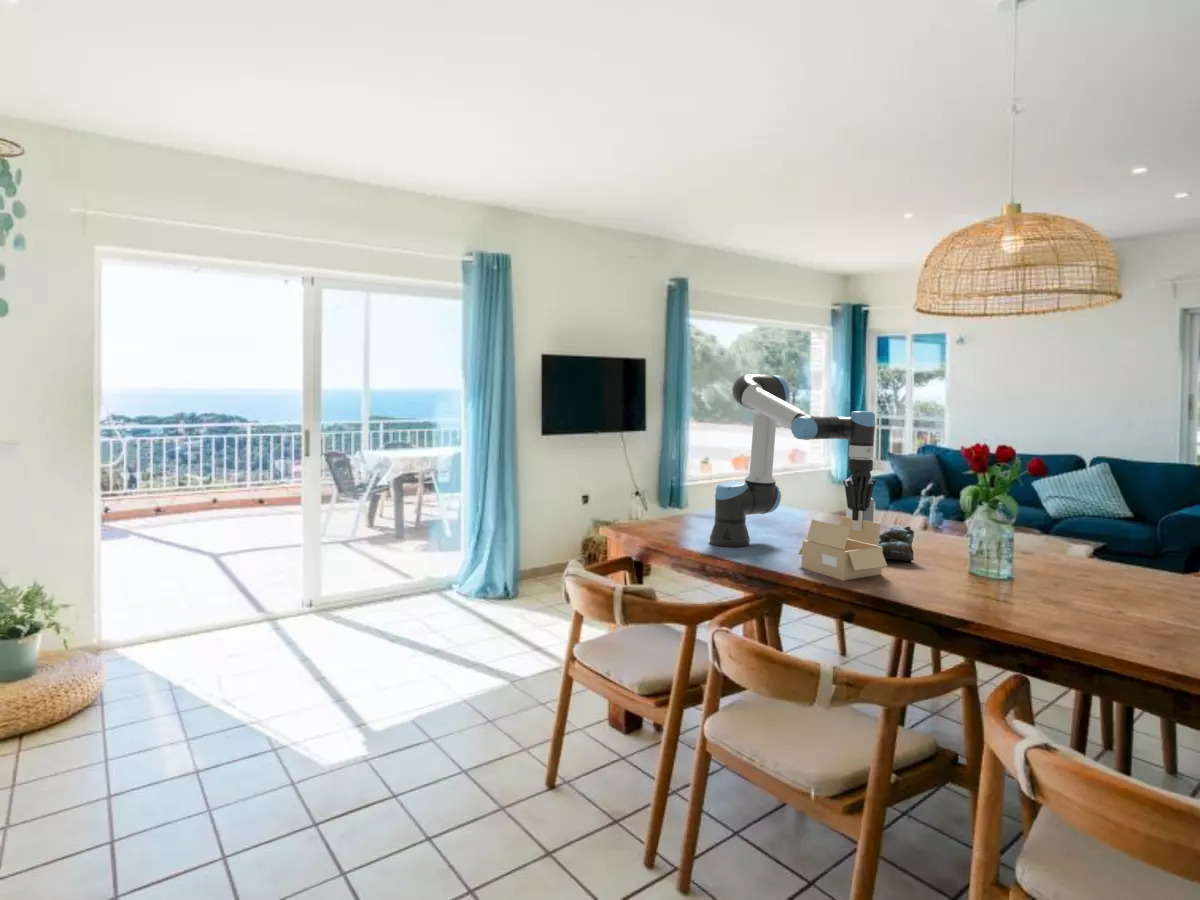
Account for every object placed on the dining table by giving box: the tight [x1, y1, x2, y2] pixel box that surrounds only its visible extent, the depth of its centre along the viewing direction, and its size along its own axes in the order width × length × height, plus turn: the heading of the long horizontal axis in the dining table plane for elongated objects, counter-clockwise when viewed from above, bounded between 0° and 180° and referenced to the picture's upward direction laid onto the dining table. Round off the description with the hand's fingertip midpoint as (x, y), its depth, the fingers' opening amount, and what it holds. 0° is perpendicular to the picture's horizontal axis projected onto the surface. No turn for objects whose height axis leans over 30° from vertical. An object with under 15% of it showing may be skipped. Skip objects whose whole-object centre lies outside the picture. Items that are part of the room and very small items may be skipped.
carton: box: [798, 539, 888, 582], centre depth 229 cm, size 24×17×9 cm
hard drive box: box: [845, 497, 875, 544], centre depth 263 cm, size 16×8×20 cm, turn 168°
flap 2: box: [840, 515, 881, 546], centre depth 232 cm, size 16×7×1 cm
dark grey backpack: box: [877, 525, 915, 563], centre depth 246 cm, size 15×12×14 cm
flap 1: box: [806, 519, 850, 550], centre depth 225 cm, size 16×7×1 cm
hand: (857, 530), depth 231 cm, fingers closed
